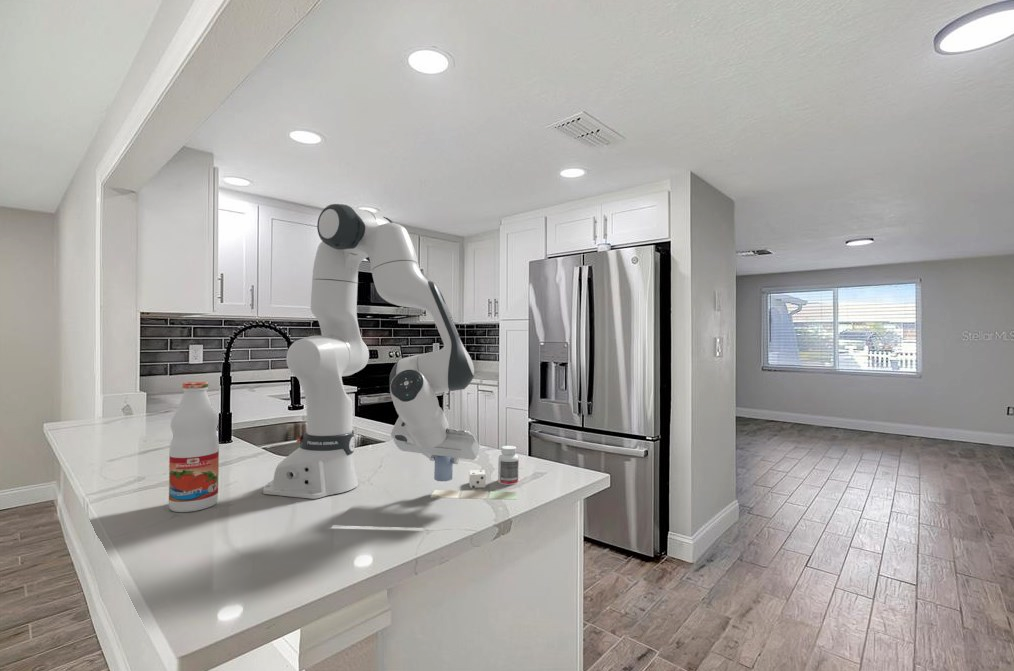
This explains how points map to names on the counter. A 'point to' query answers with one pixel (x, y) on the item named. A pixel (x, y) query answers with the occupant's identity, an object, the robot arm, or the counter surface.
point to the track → (473, 494)
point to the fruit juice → (194, 451)
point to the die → (477, 478)
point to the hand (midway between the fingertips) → (445, 460)
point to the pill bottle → (508, 466)
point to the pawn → (443, 468)
